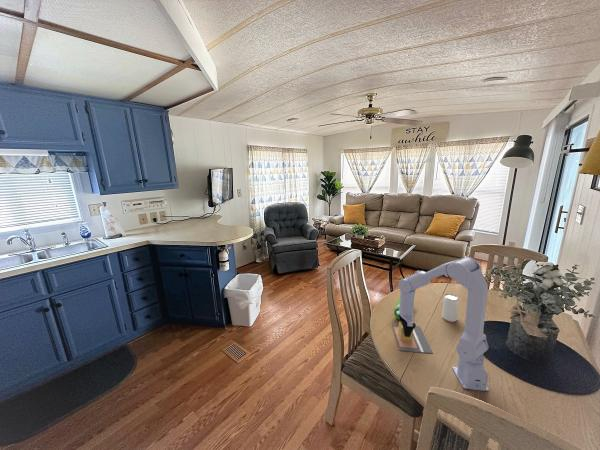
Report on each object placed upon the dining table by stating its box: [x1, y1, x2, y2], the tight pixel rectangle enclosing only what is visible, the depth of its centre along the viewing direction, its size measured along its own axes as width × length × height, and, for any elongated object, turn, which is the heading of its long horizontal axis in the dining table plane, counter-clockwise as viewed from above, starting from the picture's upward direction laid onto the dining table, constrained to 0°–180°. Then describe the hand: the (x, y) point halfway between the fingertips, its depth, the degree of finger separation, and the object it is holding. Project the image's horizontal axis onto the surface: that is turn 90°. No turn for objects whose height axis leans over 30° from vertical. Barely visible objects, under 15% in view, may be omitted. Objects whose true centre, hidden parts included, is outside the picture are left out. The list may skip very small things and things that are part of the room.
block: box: [398, 320, 413, 341], centre depth 111 cm, size 5×5×6 cm
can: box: [441, 293, 460, 323], centre depth 124 cm, size 6×6×12 cm
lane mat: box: [391, 324, 434, 354], centre depth 111 cm, size 18×13×1 cm
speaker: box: [393, 297, 400, 320], centre depth 131 cm, size 18×7×8 cm, turn 148°
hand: (405, 330), depth 111 cm, fingers open, 7 cm apart
